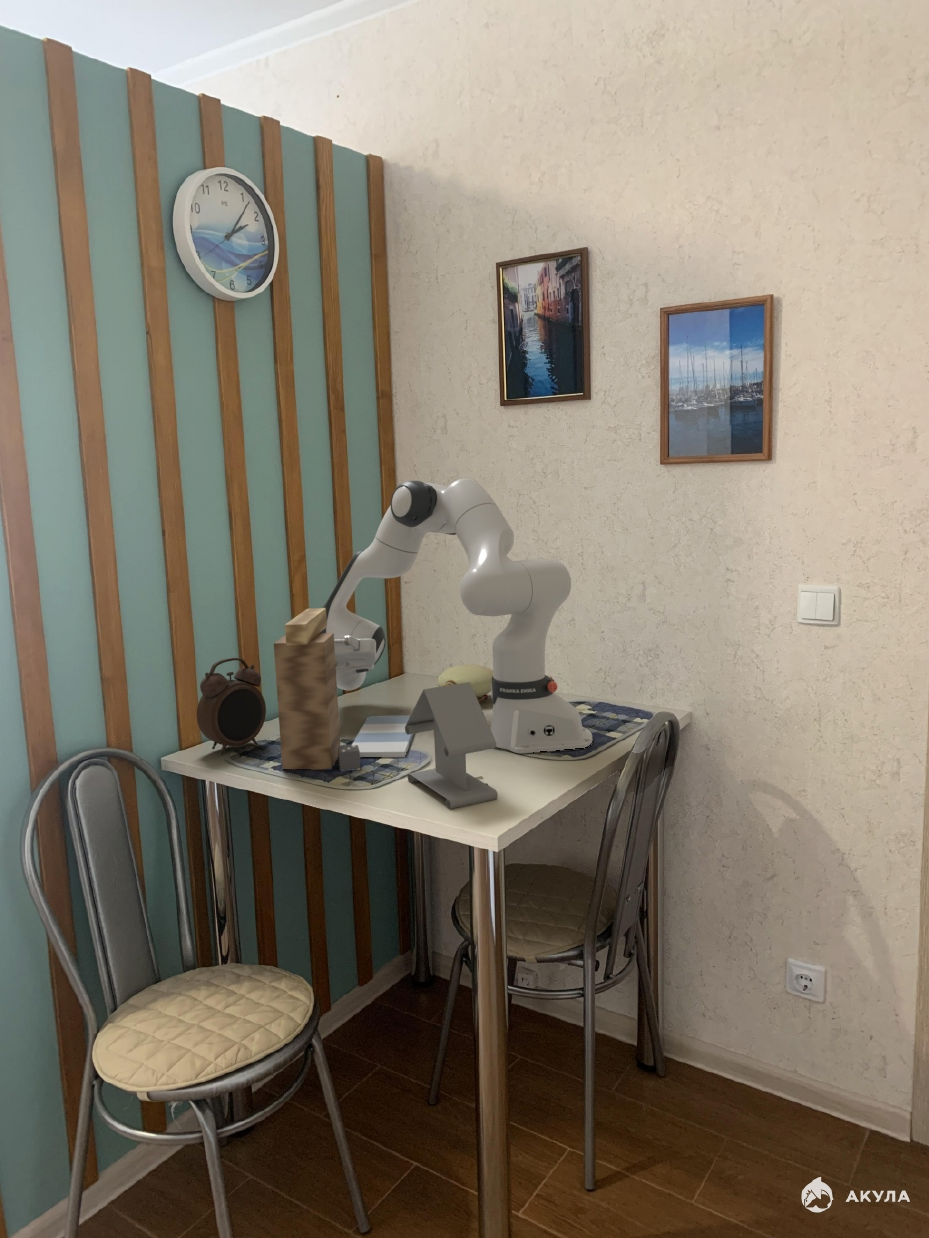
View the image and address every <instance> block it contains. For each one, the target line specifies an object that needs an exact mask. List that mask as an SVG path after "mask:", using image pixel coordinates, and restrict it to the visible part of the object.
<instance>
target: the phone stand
mask: <svg viewBox="0 0 929 1238" xmlns="http://www.w3.org/2000/svg"><path fill="white" fill-rule="evenodd" d="M410 715H411V716H410V718H409V720H408V722H407V724H406V726H405V732H406V734H407V735H409V734H419V733H424V732H425V733H426V732H430V731H431V732H432V731H433V737H434V738H433V740H434V762H435V763H434V764H435V768H430V769H424V770H421V771H415V772H409V773H407V781H408V783H410V784H413V783H417V782H421V784H423V785H425V786H427V787H428V788H430V789H431V790H432V791H434V792H436V793H437V794H439V795H440V796H442V797H444V799H446V800H445V806H446V808H447V809H449V810H453V809H457V808H461V807H466V806H470V805H474V804H479V803H484V802H488V801H493V800H497V799H498V791H497V790H496V788H494V787H492V786H490V785H488V784H487V783H485V782H483V781H481V780H480V779H479V778H476V776H473V775H471V774H470V773H468V772H467V757H466V755H467V754H472V753H477V752H482V751H487V750H492V749H495V748H497V747H496V741H495V739H494V736H493V734H492V732H491V726H490V725H489V722H488V720H487V718H486V716H485V713H484V711H483V708H482V706H481V704H480V702H478V697H476V695H475V692H474V690H473V688H472V686H471V683H470V682H467V683H461V684H454V685H448V686H442V687H438V686H437V687H431V688H430V687H429V688H424V689H423V690H422V692H421V694H420V696H419V698H418V700H417V701H416V704H415V705H414V708H413V710H412V712H411V714H410Z"/></svg>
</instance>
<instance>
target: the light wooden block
mask: <svg viewBox="0 0 929 1238" xmlns="http://www.w3.org/2000/svg"><path fill="white" fill-rule="evenodd" d="M326 627H327V617H326V608H323V607H321V608H319V607H318V608H317V607H315V608H312V607H311V608H306V609H304V610H303V611H302V612H300V613H299V614H298V615H297V616H295V617H293V618H292V619H291V620H290V621H288V622H286V623H285V624H284V631H285V634H284V635H286V645H307V644H308V643H309V642H310V641H311V640H312V639H313V638H314V637H316V636H317V635H318V634H319V633H320V632H321V631H322V630H324V629H325V628H326Z"/></svg>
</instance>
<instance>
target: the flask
mask: <svg viewBox="0 0 929 1238" xmlns="http://www.w3.org/2000/svg"><path fill="white" fill-rule="evenodd" d="M492 677H493V668H490V667H487V666H484V665H479V664H475V663H463V664H459V665H455V666H451V667H449V668H447V669H446V670H445V671H443V672H442V673H441V674H440V675H439V676H438V679H437V687H442V686H448V685H454V684H461V683H467V682H470V683H471V686H472V688H473V690H474V692H475V695H476V697H477V699H478V697H481V696H482V697H481V698H479V699H478V702H479V703H480V702H482V701H484V700H486V699H485V698H487V699H488V698H489V697H488V696H489V695H488V694H489V693H491V681H492Z"/></svg>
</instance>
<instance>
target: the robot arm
mask: <svg viewBox="0 0 929 1238" xmlns="http://www.w3.org/2000/svg"><path fill="white" fill-rule="evenodd" d="M428 533H434V534H435V533H436V534H443V535H444V534H446V535H449V536H455V535H456V536H457V539H458V541H459V542H460V544H461V546H462V548H463V549H464V551H465V554H466V555H467V558H468V563H469V567H468V570H467V571H466V572H465V574H464V576H463V577H462V580H461V583H460V589H459V590H460V591H459V592H460V593H459V594H460V599H461V601H462V605H464V607H465V608H466V610H467V611H468V612H469V613H470V614H472V615H474V616H484V617H500V616H501V617H502V616H506V615H510V618H509V622H508V623H507V625H506V626H505V627H504V629H503V630H501V631H500V632H499V634H497V635H496V636H495V638H494V639H493V641H492V670H493V677H492V681H491V692H490V695H491V703H492V715H491V716H492V717H491V723H490V729H491V732H492V734H493V736H494V739H495V741H496V748H499V749H504V750H509V751H510V752H513V753H516V754H530V753H532V754H533V752H534V753H541V752H540V751H547V752H557V751H556V750H560V751H565V750H564V749H573V750H576V749H575V748H584V749H586V748H585V747H587V746H589V745H590V744H591V743H592V741H594V740H593V734H592V732H591V731H590V729H588V728H586V727H584V726H583V723H582V718H581V715H580V713H579V711H578V710H577V708H576V707H575V706H574V705H573V704H571V703H569V701H567V700H566V699H564V698H563V697H561V696H560V695H559V694H557V693H556V692H557V690H558V683H557V682H556V681H555V679H553V677H552V676H551V675H550V676H548V675H546V674H545V673H546V671H545V670H546V669H545V668H546V667H545V665H546V664H545V663H546V659H545V658H546V657H545V656H546V641H547V636H548V631H549V628H550V625H551V623H552V620H553V618H554V616H555V614H556V612H557V611H558V610H559V608H560V607H561V606H562V605H563V603H564V602H566V600H567V599H568V598H569V596H570V593H571V590H572V589H571V588H572V578H571V575H570V572H569V570H568V569H567V567H566V566H565V565H564V564H563V562H561V561H559V560H553V559H546V558H533V559H531V558H530V559H523V560H522V559H521V560H512V559H511V558H509V557H508V555H509V553H510V551H512V549H513V546H514V541H515V534H514V531H513V529H512V527H511V525H510V524H509V523H508V520H507V519H506V517H505V516H504V514H503V512H502V511H501V510H500V508H499V506H498V505H497V503H496V501H495V500H494V499H493V498H492V497H491V495H490V493H488V491H487V490H486V489H485V488H484V487H483V486H482V485H481V484H480V483H479V482H478V481H476V480H474V479H472V478H468V477H467V478H465V477H464V478H460V479H459V478H458V479H456V480H454V481H453V482H452V483H450V484H449V485H448V486H445V485H442V484H439V483H434V482H433V483H432V482H425V481H424V482H423V481H420V480H406V481H403V482H400V483H399V484H398V485H397V486H396V487H395V489H394V491H393V493H392V495H391V498H390V505H389V507H388V508H387V510H386V511H385V514H384V516H383V517H382V520H381V521H380V523H379V526H378V529H377V530H376V533H375V535H374V539H373V540H372V541H371V544H370V545H369V546H368V547H367V548H365V549H360V550H358V551H356V553H355V554H354V555H353V557H351V559H350V560H349V562H348V563H347V565H346V567H345V569H344V570H343V571H342V573H341V576H340V577H339V579H338V581H336V582H337V583H336V584H335V586H334V587H333V590H332V592H331V593H330V595H329V597H328V598H327V601H326V602H325V603H324V605H323V606H322V608H326V617H327V627H326V628H325V629H324V630H322V631H321V632H320V633H334V647H335V664H336V681H337V689H341V690H342V691H343V690H344V691H353V690H357V689H358V688H360V686H362V684H363V683H364V681H365V679H366V675H367V672H371V671H374V668H375V665H376V664H377V663H378V662H379V660H380V659H381V657H382V655H383V653H384V650H385V648H386V643H387V642H386V641H387V640H386V634H385V630H384V628H383V627H382V626H381V625H379V624H378V623H375V622H373V621H371V620H369V619H367V618H364V617H362V616H360V615H358V614H356V613H354V612H351V611H350V610H349V609H348V608H347V604H348V602H349V601H350V600H351V598H352V596H353V593H354V591H355V590H356V588H357V587H358V585H359V583H360V582H361V581H362V580H363V579H365V578H373V579H374V578H375V579H394V578H398V577H402V576H404V575H406V574H407V573H408V572H409V571H411V569H412V567H413V565H415V564H414V563H415V561H416V559H417V557H418V555H419V551H420V548H421V546H422V542H423V540H424V537H425V536H426V535H427V534H428ZM592 744H593V743H592ZM592 744H591V745H592ZM589 747H590V746H589Z"/></svg>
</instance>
